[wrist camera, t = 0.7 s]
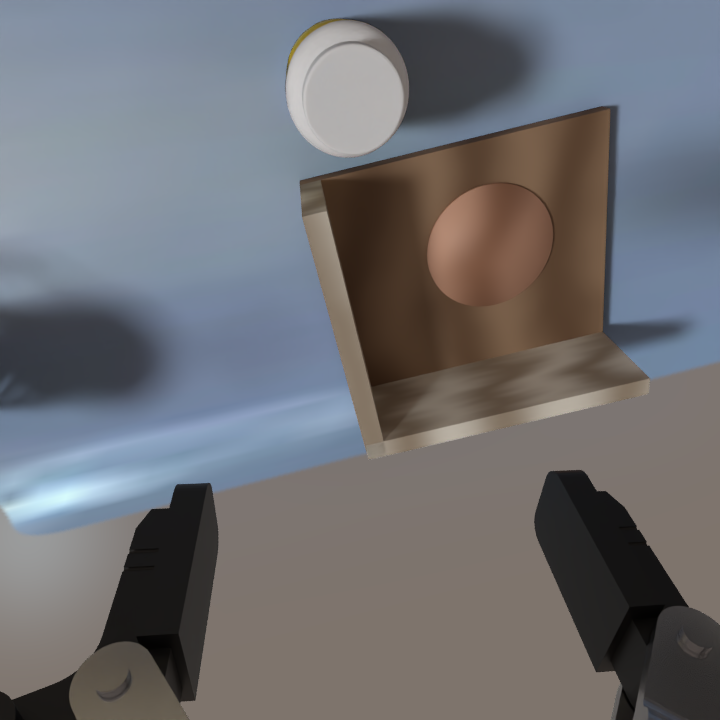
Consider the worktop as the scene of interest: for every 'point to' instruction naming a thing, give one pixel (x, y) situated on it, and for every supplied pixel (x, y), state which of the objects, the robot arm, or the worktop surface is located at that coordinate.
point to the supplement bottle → (346, 87)
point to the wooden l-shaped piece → (471, 282)
